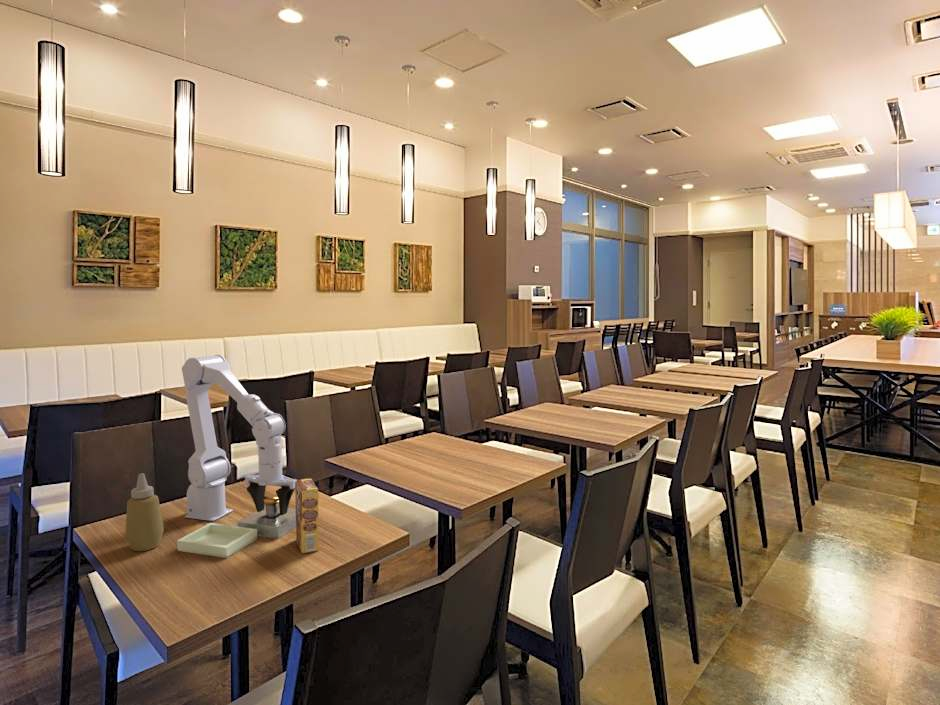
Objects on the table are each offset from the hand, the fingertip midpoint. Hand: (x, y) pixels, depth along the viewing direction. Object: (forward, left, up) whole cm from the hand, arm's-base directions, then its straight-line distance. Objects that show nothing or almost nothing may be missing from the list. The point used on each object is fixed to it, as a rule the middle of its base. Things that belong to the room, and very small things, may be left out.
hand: (272, 512), depth 148 cm
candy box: (+15, -7, -4) cm, 17 cm away
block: (0, 0, -4) cm, 4 cm away
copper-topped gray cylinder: (0, 0, -4) cm, 4 cm away
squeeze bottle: (-22, -19, -4) cm, 29 cm away
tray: (-6, -13, -4) cm, 15 cm away
